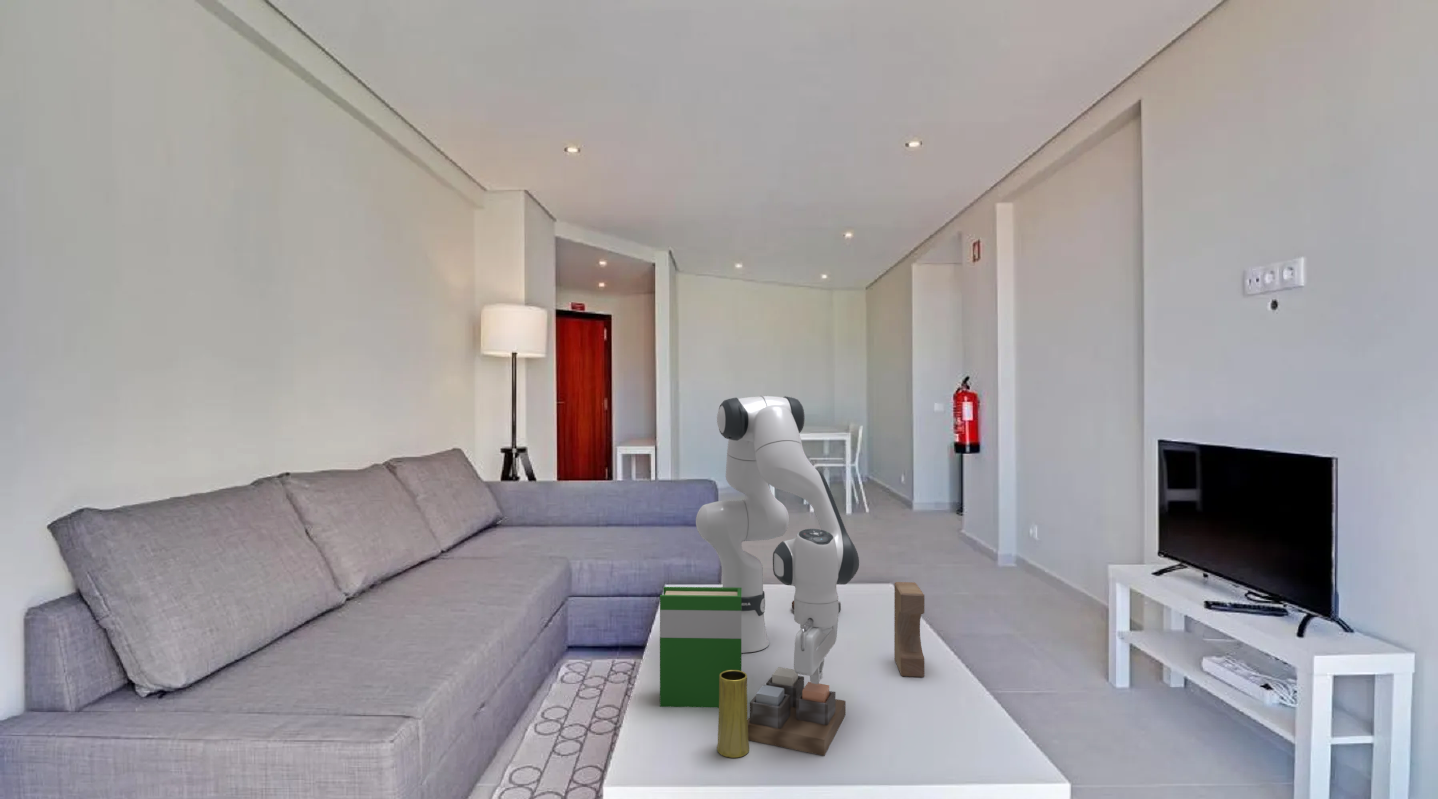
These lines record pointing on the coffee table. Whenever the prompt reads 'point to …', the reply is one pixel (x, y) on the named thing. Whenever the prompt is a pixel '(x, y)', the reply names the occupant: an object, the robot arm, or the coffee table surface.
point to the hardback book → (697, 643)
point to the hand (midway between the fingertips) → (816, 681)
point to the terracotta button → (816, 692)
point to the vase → (733, 714)
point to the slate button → (770, 695)
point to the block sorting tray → (796, 720)
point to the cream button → (785, 676)
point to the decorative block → (908, 629)
